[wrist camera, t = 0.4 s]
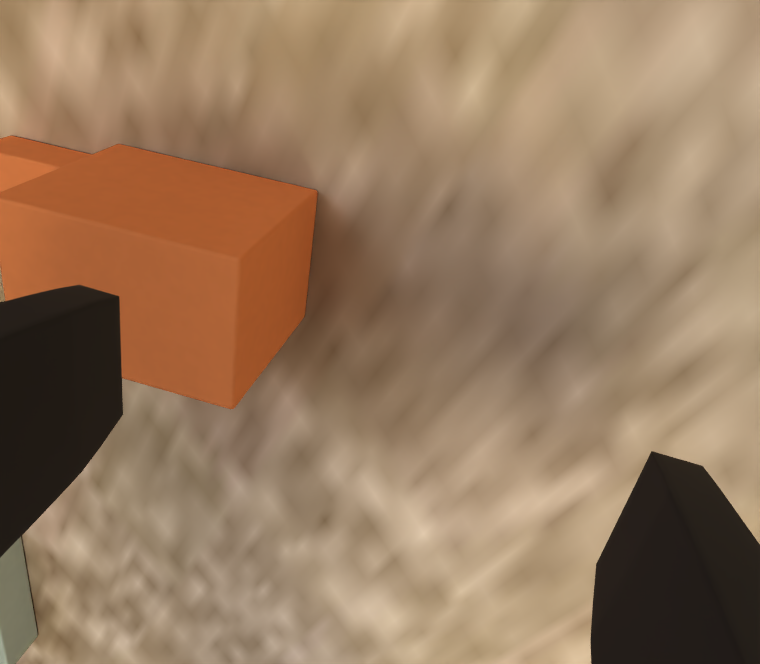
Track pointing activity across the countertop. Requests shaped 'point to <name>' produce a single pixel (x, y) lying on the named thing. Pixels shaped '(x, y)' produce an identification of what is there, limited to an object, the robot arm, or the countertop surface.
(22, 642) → the grey tile
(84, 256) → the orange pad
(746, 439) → the countertop surface
